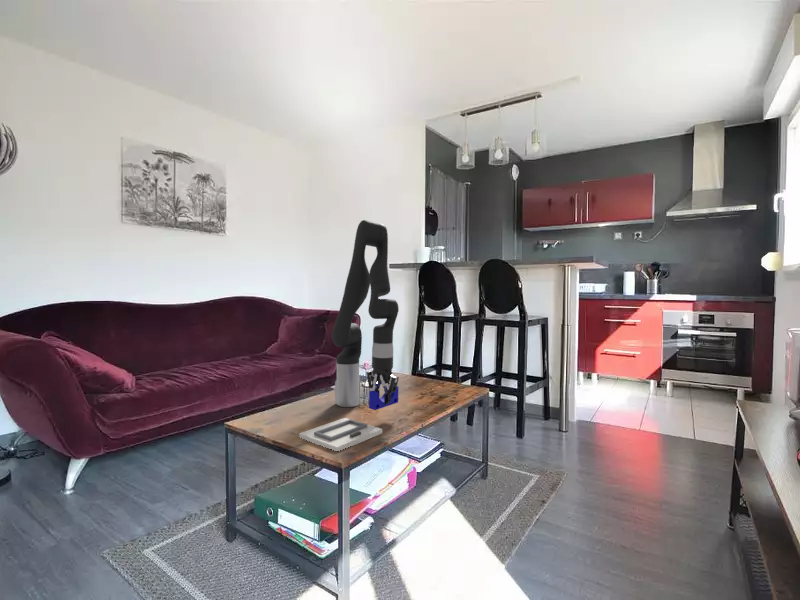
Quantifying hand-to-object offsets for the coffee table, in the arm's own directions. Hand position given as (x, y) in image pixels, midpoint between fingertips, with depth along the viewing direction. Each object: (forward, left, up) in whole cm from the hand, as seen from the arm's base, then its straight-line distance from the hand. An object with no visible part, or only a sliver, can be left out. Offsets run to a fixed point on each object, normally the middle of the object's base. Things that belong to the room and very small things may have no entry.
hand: (381, 402), depth 151 cm
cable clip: (0, 0, -1) cm, 1 cm away
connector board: (-1, -18, -7) cm, 20 cm away
